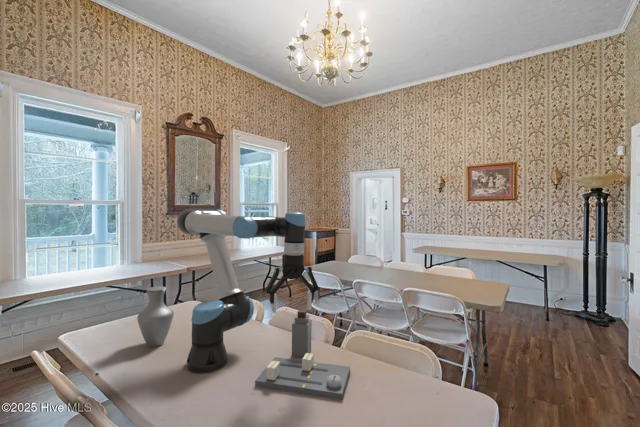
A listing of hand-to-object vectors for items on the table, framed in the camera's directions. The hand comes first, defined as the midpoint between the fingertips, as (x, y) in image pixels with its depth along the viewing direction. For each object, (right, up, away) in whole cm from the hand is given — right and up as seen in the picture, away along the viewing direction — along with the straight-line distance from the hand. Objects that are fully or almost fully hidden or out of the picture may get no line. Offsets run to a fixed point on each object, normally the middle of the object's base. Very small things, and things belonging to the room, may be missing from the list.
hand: (291, 310), depth 115 cm
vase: (-63, -22, +23) cm, 71 cm away
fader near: (-6, -21, -8) cm, 23 cm away
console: (+5, -23, -5) cm, 24 cm away
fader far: (+6, -21, -1) cm, 22 cm away
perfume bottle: (+3, -23, +15) cm, 28 cm away
